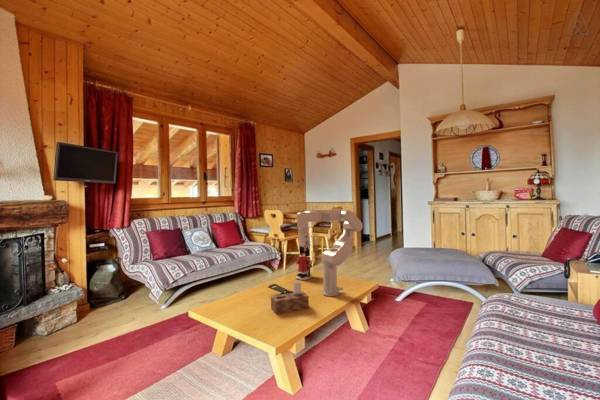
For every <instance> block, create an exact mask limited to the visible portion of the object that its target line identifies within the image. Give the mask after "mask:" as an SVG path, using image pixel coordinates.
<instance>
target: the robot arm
mask: <svg viewBox="0 0 600 400" xmlns="http://www.w3.org/2000/svg"><path fill="white" fill-rule="evenodd" d="M296 221H297V233H298V248H299V249H298V250H299V255H300V254H302V253H304V251H305V256H306V257H311V256H310V255H311V253H310V252H311V251H310V250H311V238H310V233H309V232H310V228H309V227H310V226H309V225H310V224H309V223H310V222H311V223H315V222H318V221H319V222H329V223H330V222H343V224H342V228H343V229H342V230H343V231H342V234H341V235H340V236H339V237H338V239H336V241H335V242H334V243H333V245H332V249H326V250H324V251H323V252H322V254H321V262H322V266H323V274H322V275H323V290H321V295H322V296H326V297H336V296H339V294H340V291H342V290H344V287H343V286H341V287H340V286H338V276H337V275H338V271H337V267H339V266H340V265H342V264H343V263H344V262H345V261H346V260H347V259H348V257H350V256H351V253H352V252H353V249H354V248H353V244H352V242H353V238H354V234H353V233H359V232H361V231H362V230H363V223H362V221H361V219H359V217H358V216H357V215H356V214H355V213H354V212H353V211H352V210H350V209H321V210H320V209H319V210H318V209H316V210H315V209H313V210H309V209H308V210H305V211H299V212H297V214H296Z"/></svg>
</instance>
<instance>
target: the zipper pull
mask: <svg viewBox="0 0 600 400" xmlns="http://www.w3.org/2000/svg"><path fill="white" fill-rule="evenodd" d="M267 288H269V289H271V290H274V291H276V292H278V293H279V295H282V294H288V293H294V292H293V290H289V289H286V288H285V287H282V286H281V285H279V284H277V283H272V284H269V285H268V286H267Z"/></svg>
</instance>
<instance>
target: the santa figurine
mask: <svg viewBox="0 0 600 400" xmlns="http://www.w3.org/2000/svg"><path fill="white" fill-rule="evenodd" d="M295 262H296V264H297V265H298V267H297V269H298V270H297V275H296V276H295V279H296V280H298V281H307V280H310V279H311V278H312V277H313V276H312V275H313V274H312V273H311V269H312V268H313V259H311V256H305V250H304V253H302V254H300V253H299V255H298V257H297V259H296V261H295Z"/></svg>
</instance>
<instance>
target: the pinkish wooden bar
mask: <svg viewBox="0 0 600 400" xmlns="http://www.w3.org/2000/svg"><path fill="white" fill-rule="evenodd" d="M292 284H293V286H292V287H293V290H292V291H293V292H294V296H299V295H301V291H302V282H301V281H295V282H292Z"/></svg>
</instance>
